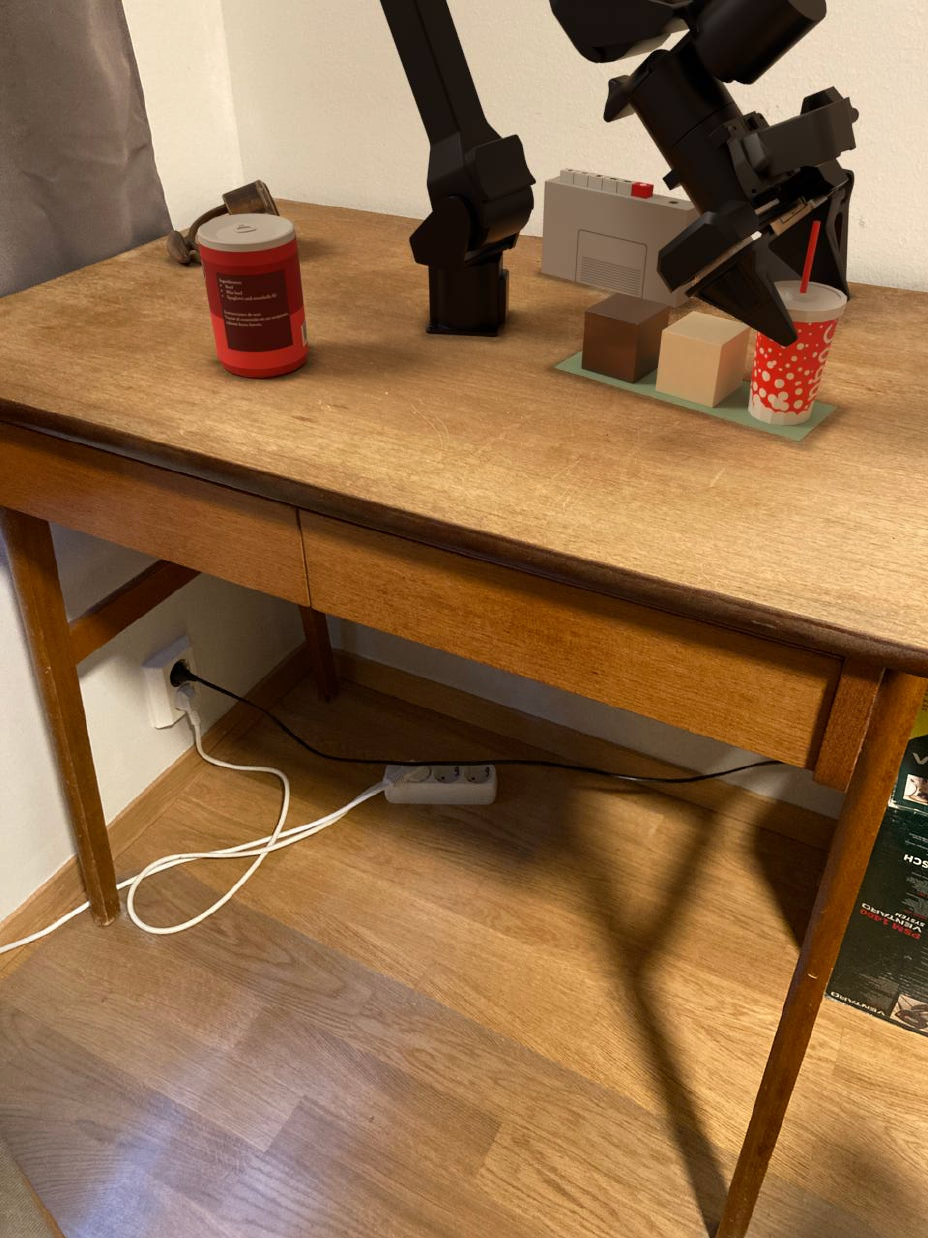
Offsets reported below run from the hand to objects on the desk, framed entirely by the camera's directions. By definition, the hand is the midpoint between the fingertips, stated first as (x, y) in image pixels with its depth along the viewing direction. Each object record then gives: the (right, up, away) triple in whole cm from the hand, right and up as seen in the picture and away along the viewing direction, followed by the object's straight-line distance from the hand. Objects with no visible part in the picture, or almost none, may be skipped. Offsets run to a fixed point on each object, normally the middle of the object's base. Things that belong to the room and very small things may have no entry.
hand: (819, 322), depth 71 cm
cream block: (-7, -3, +9) cm, 11 cm away
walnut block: (-12, 0, +12) cm, 17 cm away
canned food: (-42, +1, +15) cm, 45 cm away
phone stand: (+6, +9, +25) cm, 27 cm away
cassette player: (-11, +11, +28) cm, 32 cm away
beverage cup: (-1, -5, +5) cm, 8 cm away
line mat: (-7, -3, +9) cm, 12 cm away
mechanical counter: (-50, +18, +37) cm, 65 cm away
